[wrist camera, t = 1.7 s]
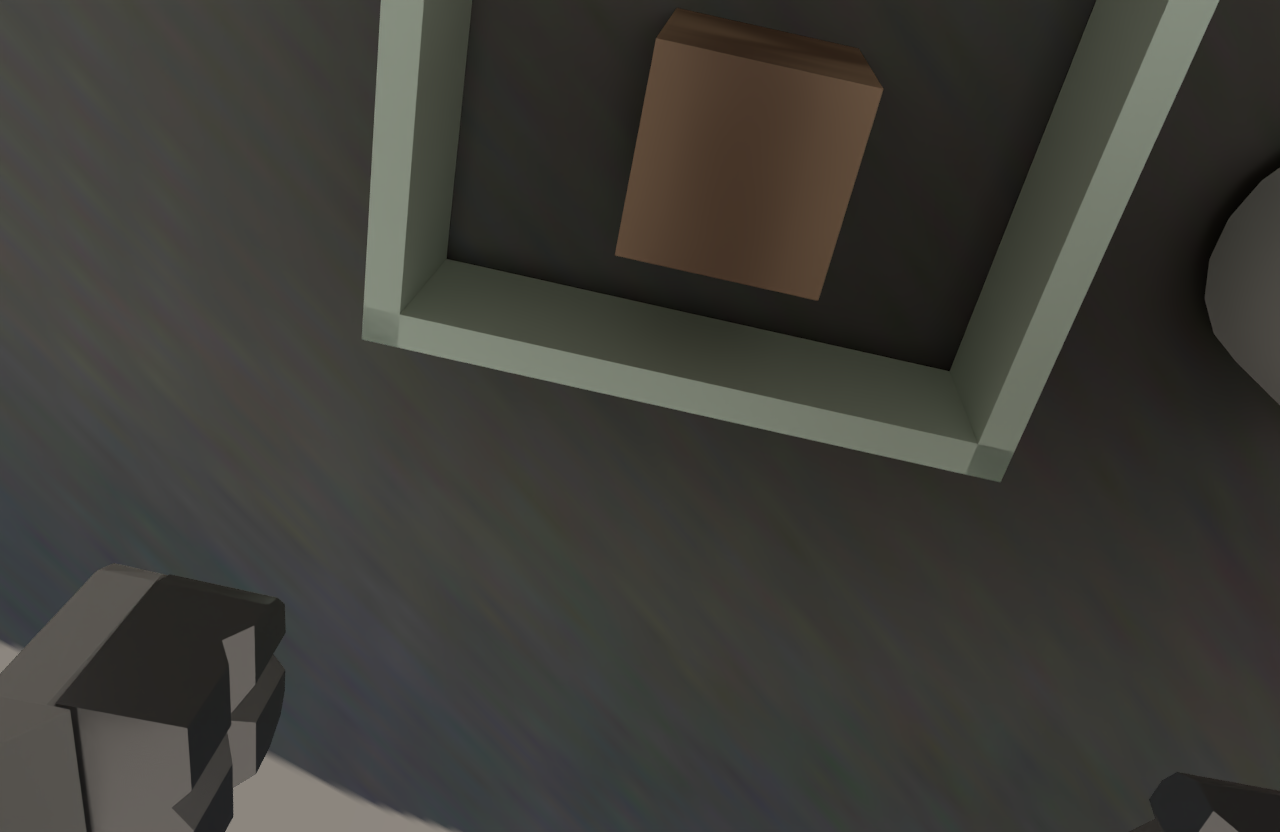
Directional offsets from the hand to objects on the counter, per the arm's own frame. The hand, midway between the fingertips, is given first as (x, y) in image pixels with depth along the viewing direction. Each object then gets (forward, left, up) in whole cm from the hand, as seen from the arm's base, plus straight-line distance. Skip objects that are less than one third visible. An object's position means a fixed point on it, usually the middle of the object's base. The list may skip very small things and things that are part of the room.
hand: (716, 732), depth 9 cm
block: (0, -1, -22) cm, 22 cm away
